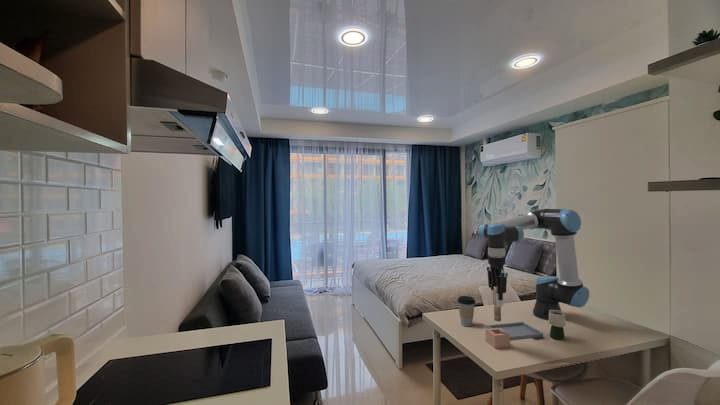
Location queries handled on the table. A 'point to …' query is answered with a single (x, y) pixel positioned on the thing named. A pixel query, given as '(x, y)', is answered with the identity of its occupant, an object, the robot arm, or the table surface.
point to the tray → (518, 330)
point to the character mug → (557, 323)
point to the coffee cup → (466, 310)
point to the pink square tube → (497, 338)
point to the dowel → (496, 309)
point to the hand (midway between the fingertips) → (497, 304)
